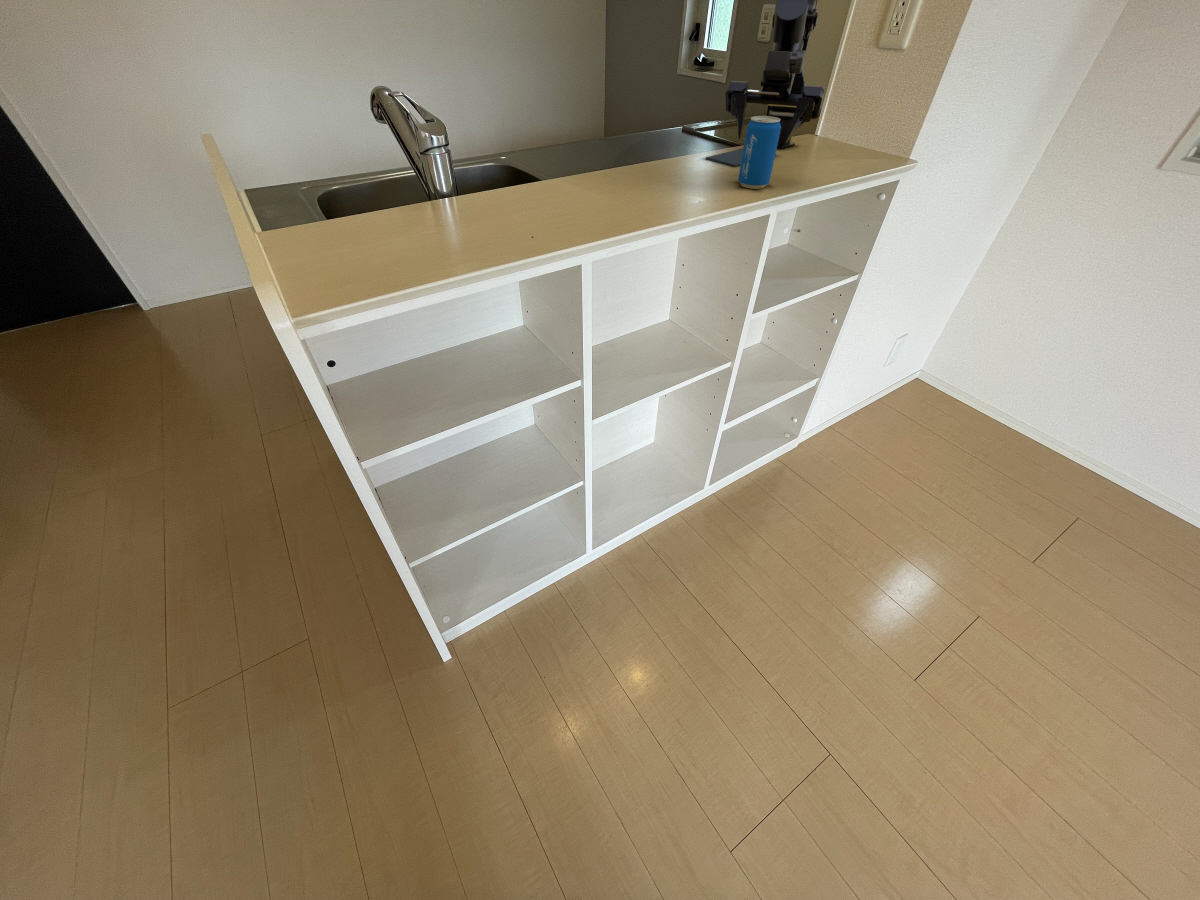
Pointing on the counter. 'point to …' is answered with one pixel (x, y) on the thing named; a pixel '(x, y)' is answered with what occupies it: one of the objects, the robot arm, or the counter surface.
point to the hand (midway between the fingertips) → (762, 139)
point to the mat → (728, 158)
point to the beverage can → (759, 151)
